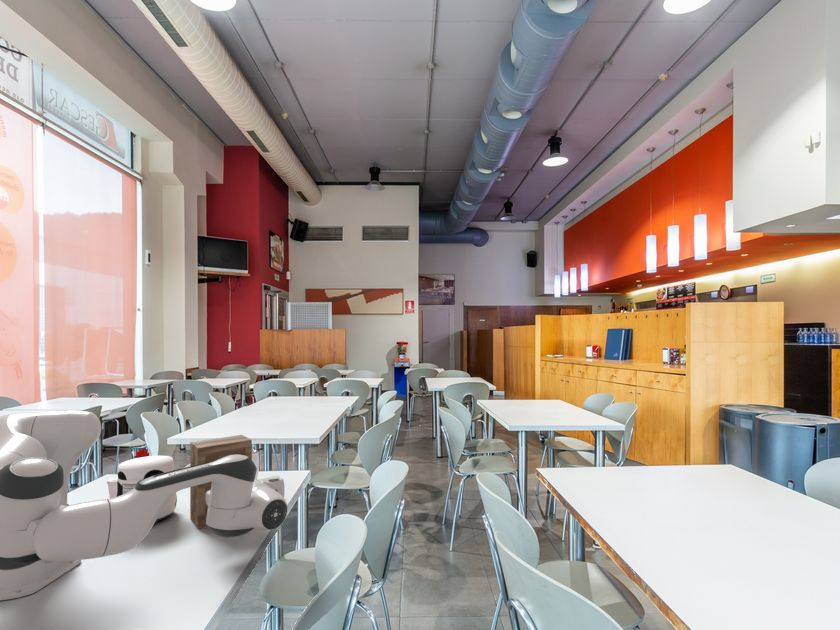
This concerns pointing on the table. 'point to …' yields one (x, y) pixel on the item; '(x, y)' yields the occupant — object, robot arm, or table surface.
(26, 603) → the table surface
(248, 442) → the box
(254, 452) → the white hollow cylinder
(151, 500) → the robot arm
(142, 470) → the milk container
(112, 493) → the smoothie
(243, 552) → the table surface
